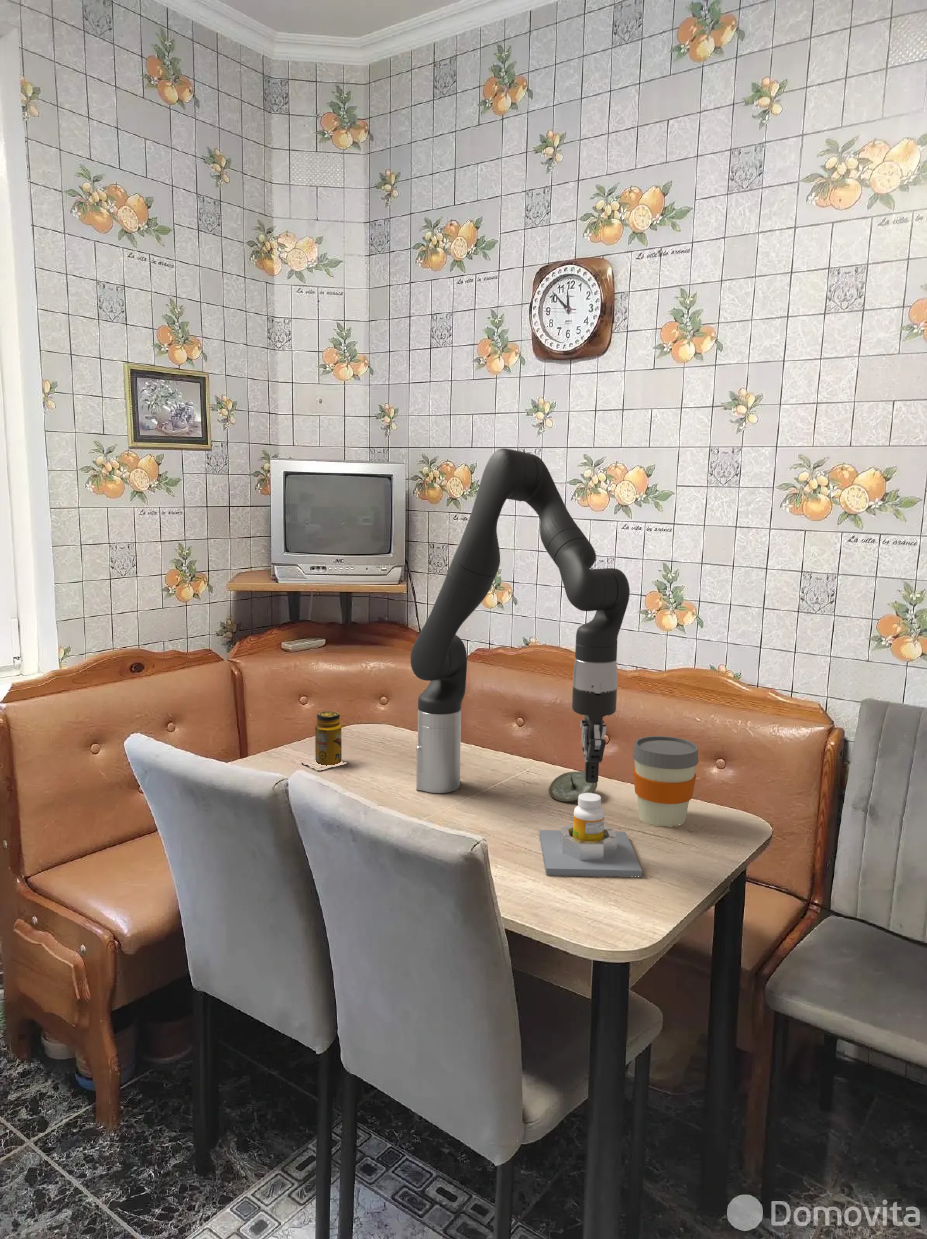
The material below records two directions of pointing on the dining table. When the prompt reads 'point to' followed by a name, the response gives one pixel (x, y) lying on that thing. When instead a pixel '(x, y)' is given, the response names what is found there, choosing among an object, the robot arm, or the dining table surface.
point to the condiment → (328, 738)
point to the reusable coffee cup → (664, 778)
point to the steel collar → (588, 845)
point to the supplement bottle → (588, 818)
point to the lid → (570, 786)
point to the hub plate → (569, 866)
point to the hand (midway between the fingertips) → (591, 781)
